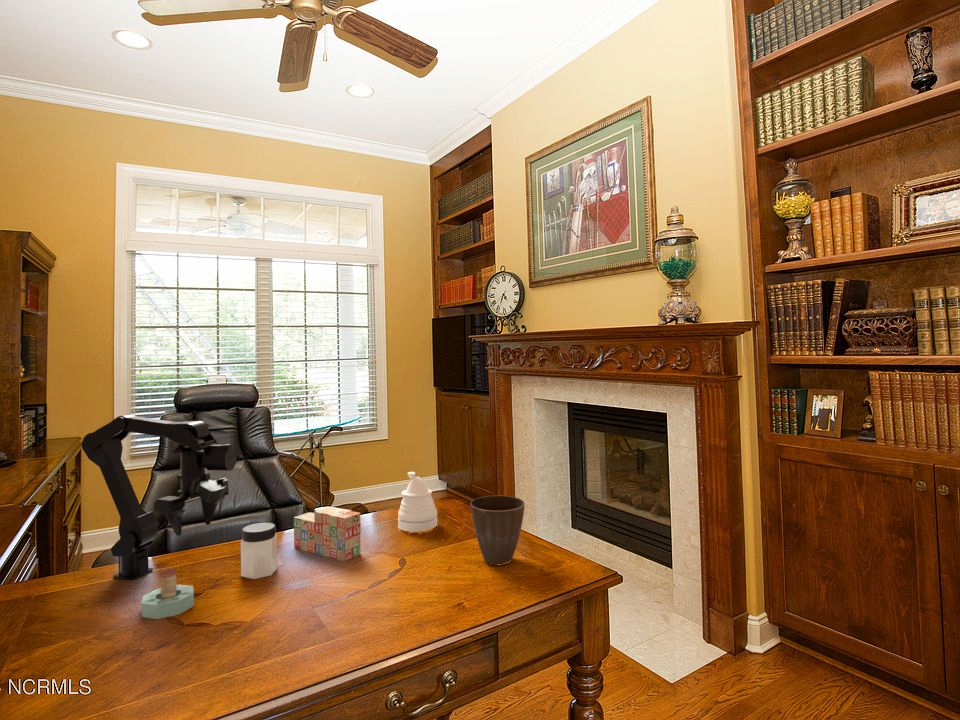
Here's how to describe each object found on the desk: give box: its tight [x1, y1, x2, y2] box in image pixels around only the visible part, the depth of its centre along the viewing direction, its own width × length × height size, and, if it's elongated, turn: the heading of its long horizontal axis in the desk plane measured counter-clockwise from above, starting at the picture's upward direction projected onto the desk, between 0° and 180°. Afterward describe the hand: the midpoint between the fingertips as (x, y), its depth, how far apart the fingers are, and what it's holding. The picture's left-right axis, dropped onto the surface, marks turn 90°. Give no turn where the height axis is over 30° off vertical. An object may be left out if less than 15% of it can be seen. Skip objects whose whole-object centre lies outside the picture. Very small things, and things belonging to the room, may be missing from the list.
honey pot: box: [397, 471, 438, 532], centre depth 177 cm, size 13×13×18 cm
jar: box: [240, 522, 278, 580], centre depth 141 cm, size 9×8×12 cm
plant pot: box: [470, 495, 526, 564], centre depth 147 cm, size 15×15×16 cm
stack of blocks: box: [292, 506, 362, 562], centre depth 156 cm, size 21×6×12 cm, turn 58°
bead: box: [141, 584, 195, 620], centre depth 121 cm, size 10×10×3 cm
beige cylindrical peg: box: [160, 567, 177, 600], centre depth 121 cm, size 3×3×8 cm
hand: (193, 529), depth 140 cm, fingers open, 9 cm apart
